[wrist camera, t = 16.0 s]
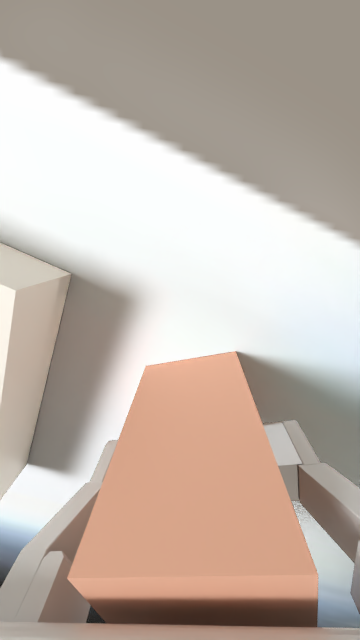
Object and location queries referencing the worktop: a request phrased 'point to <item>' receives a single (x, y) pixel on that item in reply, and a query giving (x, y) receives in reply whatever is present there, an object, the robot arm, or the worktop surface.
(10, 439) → the divided tray
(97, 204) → the worktop surface
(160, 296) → the worktop surface
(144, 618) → the terracotta block
